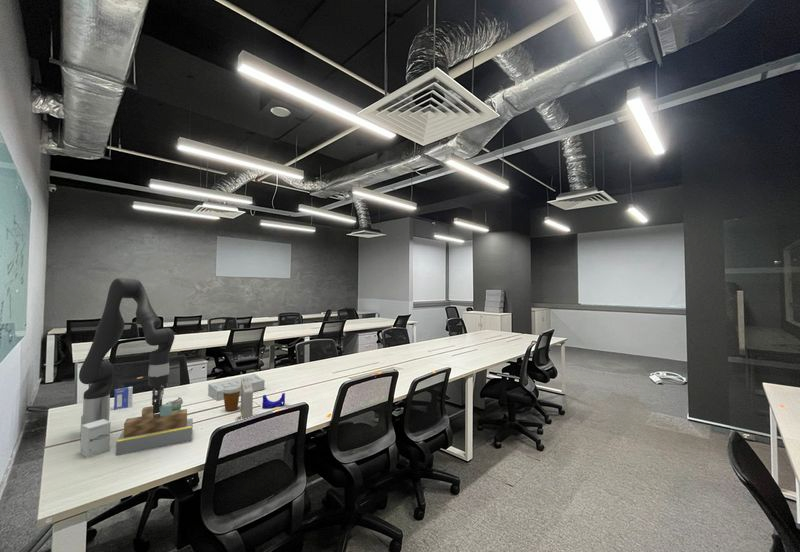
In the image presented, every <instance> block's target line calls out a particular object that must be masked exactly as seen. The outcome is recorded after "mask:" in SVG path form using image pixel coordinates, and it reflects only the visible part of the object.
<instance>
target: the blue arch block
mask: <svg viewBox="0 0 800 552" xmlns="http://www.w3.org/2000/svg"><path fill="white" fill-rule="evenodd" d="M282 403H283V405H282ZM284 404H285V405H286V393H285V392H283V393H281V396H280V398H279V399H278V400H274V401H271V400H270V399H268V397H267V394H264V395H263V396H262V405H261V406H262V409H265V408H274V407H276V406H275V405H279V406H285V405H284ZM273 406H274V407H273Z"/></svg>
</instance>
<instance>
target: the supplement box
mask: <svg viewBox="0 0 800 552" xmlns="http://www.w3.org/2000/svg"><path fill="white" fill-rule="evenodd" d="M110 445H111V421H110V420H109V421H107V420H105V419H102V420H98V421H94V422H91V423H87V424H83V425H81V424H80V449H79V450H80V455H82V456H84V457H85V458H87V459H88V458H91V457H94V456H97V455H100V454H103V453H106V452H110V450H111V449H110V448H111V446H110Z"/></svg>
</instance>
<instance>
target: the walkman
mask: <svg viewBox="0 0 800 552" xmlns="http://www.w3.org/2000/svg"><path fill="white" fill-rule="evenodd" d="M133 388H134V387H133V386H128V387H122V388H115V389H114V395H113V396H114V398H113V400H114V401H113V410H114V411H117V410H122V409H127V408H132V407H133V394H134V393H133V392H134V389H133Z"/></svg>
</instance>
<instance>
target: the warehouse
mask: <svg viewBox="0 0 800 552" xmlns="http://www.w3.org/2000/svg"><path fill="white" fill-rule="evenodd" d="M241 378H249V380H250V383H251V386H252V389H253V393H254V392H257V391H262V390H265V380H264V379H263V378H261V377H260V376H258V375H257V374H250V375H245V376H243V375H242V376H240V377H235V378H230V379H226V380H222V381H216V382H212V383H208V388H207V389H208V390H207V391H208V393H207V396H209V397H210V398H212V399H214V400H215V401H216V402H219V401H222V400H223V401H224V395H223V392H222V391H223V388H224V387H227V386H232V385H239V386H240V388H241ZM239 396H241V390H240V394H239Z"/></svg>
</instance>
